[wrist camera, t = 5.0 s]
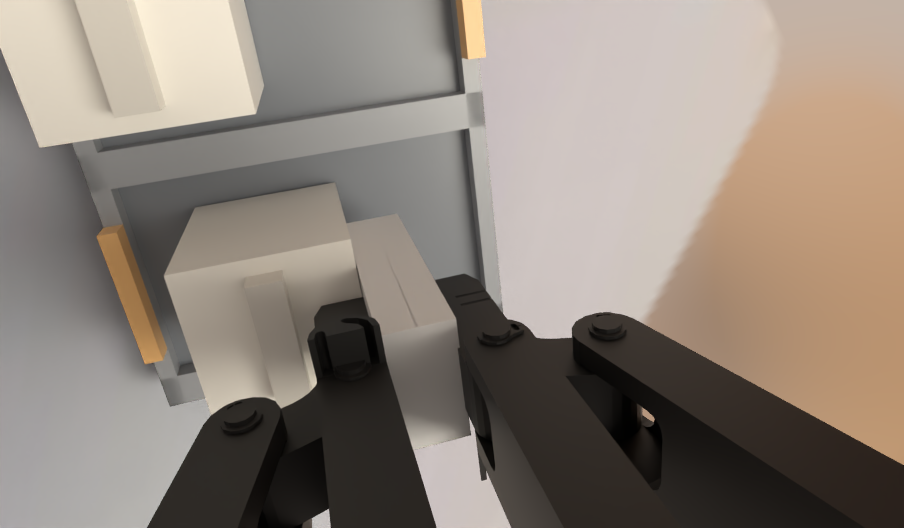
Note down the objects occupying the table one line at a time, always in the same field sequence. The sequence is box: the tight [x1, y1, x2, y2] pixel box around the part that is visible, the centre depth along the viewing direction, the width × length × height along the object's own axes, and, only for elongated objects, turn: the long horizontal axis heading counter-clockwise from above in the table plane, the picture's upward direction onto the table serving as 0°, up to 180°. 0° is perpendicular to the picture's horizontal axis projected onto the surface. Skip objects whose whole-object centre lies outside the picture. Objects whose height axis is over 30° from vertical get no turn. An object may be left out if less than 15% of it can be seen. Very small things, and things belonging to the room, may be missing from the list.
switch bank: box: [72, 0, 503, 406], centre depth 16 cm, size 11×22×2 cm, turn 7°
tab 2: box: [164, 182, 362, 415], centre depth 16 cm, size 4×4×6 cm
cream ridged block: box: [0, 0, 264, 148], centre depth 13 cm, size 4×4×6 cm
